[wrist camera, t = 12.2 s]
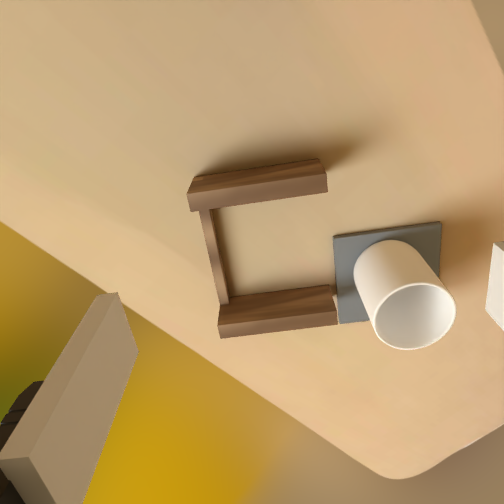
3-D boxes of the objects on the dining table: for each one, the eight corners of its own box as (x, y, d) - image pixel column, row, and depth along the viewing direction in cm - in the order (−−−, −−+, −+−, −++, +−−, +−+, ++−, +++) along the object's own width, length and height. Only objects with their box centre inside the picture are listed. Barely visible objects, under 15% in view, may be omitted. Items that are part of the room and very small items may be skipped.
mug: (395, 322, 57) (424, 378, 47) (337, 268, 53) (356, 318, 43) (449, 283, 54) (491, 335, 44) (391, 224, 50) (424, 266, 41)
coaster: (332, 236, 52) (333, 238, 51) (439, 221, 51) (441, 224, 50) (338, 320, 58) (339, 324, 57) (434, 308, 57) (436, 312, 56)
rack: (193, 177, 48) (186, 194, 43) (318, 158, 47) (326, 173, 42) (223, 310, 57) (220, 338, 52) (329, 297, 56) (337, 324, 51)
